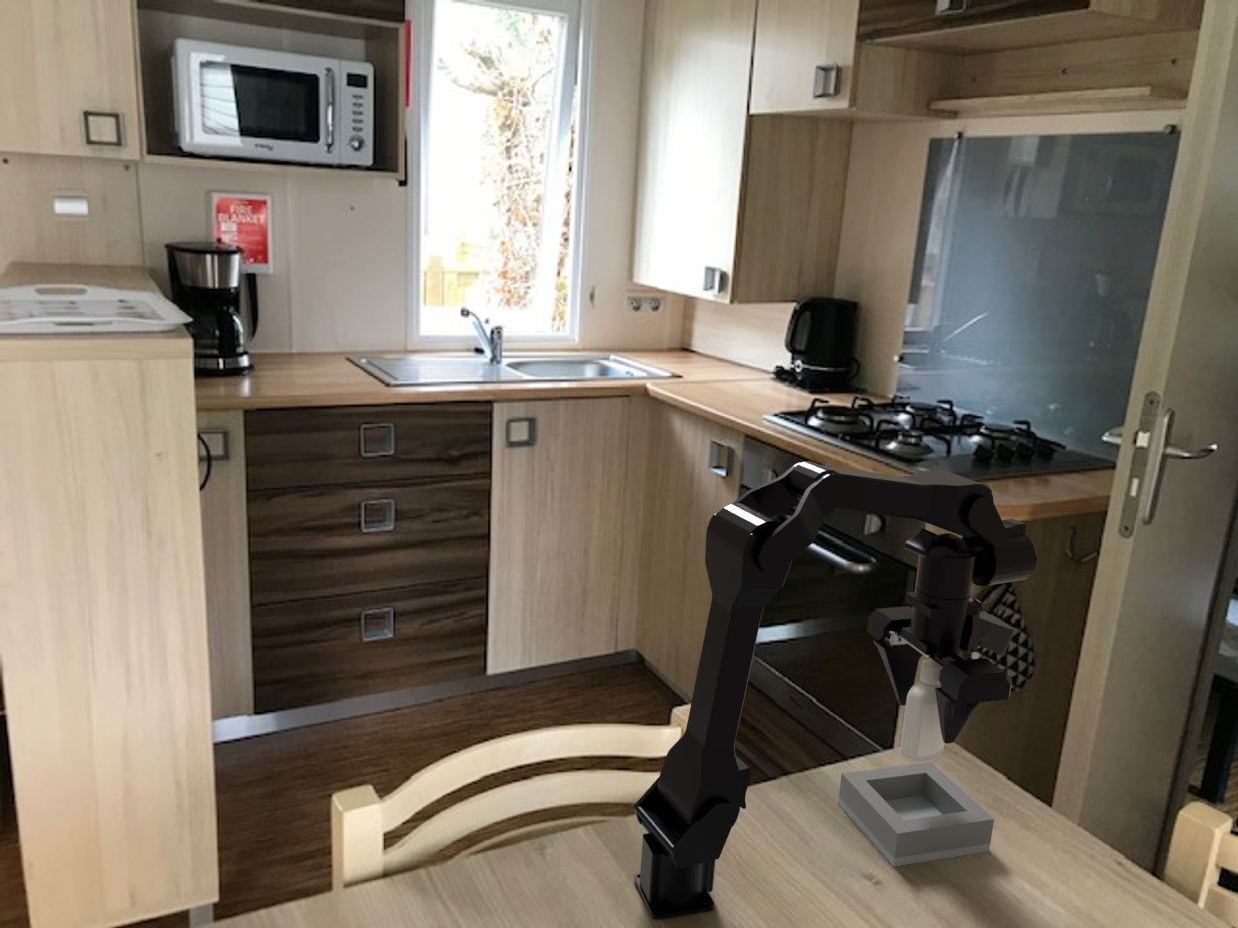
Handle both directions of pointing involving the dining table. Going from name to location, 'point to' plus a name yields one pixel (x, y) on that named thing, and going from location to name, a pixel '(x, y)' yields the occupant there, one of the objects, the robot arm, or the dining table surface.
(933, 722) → the eye dropper bottle
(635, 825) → the dining table surface
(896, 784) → the holder block
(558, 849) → the dining table surface
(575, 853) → the dining table surface
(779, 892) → the dining table surface
